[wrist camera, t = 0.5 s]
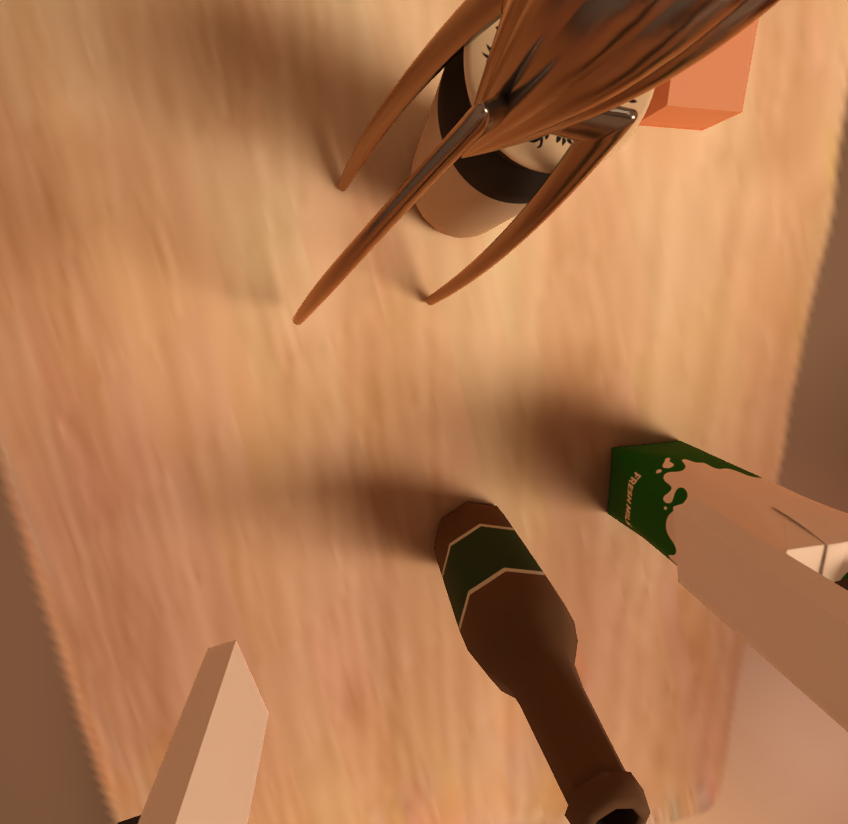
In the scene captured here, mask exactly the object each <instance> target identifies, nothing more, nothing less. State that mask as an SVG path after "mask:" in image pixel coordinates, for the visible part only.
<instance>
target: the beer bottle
mask: <svg viewBox="0 0 848 824" xmlns="http://www.w3.org/2000/svg"><path fill="white" fill-rule="evenodd" d="M434 549H435V554H436V558H437V562H438V565H439V568H440V571H441V574H442V577H443V580H444V584H445V587H446V590H447V593H448V596H449V599H450V602H451V605H452V609H453V612H454V615H455V618H456V621H457V624H458V627H459V630H460V633H461V635H462V638H463V640H464V642H465V645H466V647H467V649H468V651H469V652H470V654H471V655H472V656H473V657H474V659H475V660H476V661H477V662H478V664H479V665H480V666H481V667H482V669H483V670H484V671H485V672H486V674H487V675H488V676H489V677H490V679H491V680H492V681H493V682H494V683H495V684H496V685H497V686H498V688H499V689H500V690H501V691H503V692H504V693H506V694H508V695H510V696H512V697H514V698H516V700H517V701H518V703H519V704H520V706H521V708H522V710H523V712H524V714H525V716H526V719H527V721H528V723H529V725H530V727H531V729H532V731H533V733H534V735H535V737H536V739H537V741H538V743H539V745H540V748H541V750H542V752H543V754H544V756H545V758H546V760H547V762H548V764H549V766H550V768H551V770H552V772H553V774H554V776H555V779H556V781H557V783H558V785H559V787H560V789H561V791H562V793H563V795H564V797H565V799H566V801H567V803H568V807H567V810H566V813H565V816H566V818H567V819H568V821H569V822H570V824H646V821H647V819H648V817H649V815H650V810H649V807H648V803H647V800H646V797H645V794H644V791H643V789H642V787H641V786H640V785H639V783H638V782H637V780H636V779H635V778H634V776H633V775H632V773H631V772H627V771H625V769H624V767H623V765H622V763H621V762H620V760H619V758H618V756H617V754H616V752H615V750H614V748H613V746H612V744H611V742H610V740H609V738H608V736H607V734H606V732H605V730H604V728H603V726H602V724H601V722H600V720H599V718H598V716H597V714H596V712H595V710H594V708H593V706H592V704H591V702H590V701H589V699H588V697H587V695H586V693H585V691H584V689H583V686H582V684H581V681H580V678H579V676H578V673H577V670H576V667H575V665H574V664H575V657H576V650H577V642H578V640H577V635H576V629H575V624H574V621H573V619H572V617H571V615H570V613H569V612H568V610H567V608H566V606H565V604H564V603H563V601H562V600H561V598H560V597H559V595H558V594H557V592H556V591H555V589H554V588H553V586H552V585H551V583H550V582H549V580H548V578H547V577H546V575H545V574H544V573H543V571H542V570H541V568H540V567H539V565H538V564H537V562H536V561H535V559H534V558H533V556H532V555H531V554H530V552H529V551H528V549H527V548H526V546H525V545H524V543H523V542H522V540H521V539H520V537H519V536H518V535H517V533H516V532H515V530H514V529H513V527H512V526H511V524H510V523H509V521H508V520H507V519H506V517H505V516H504V514H503V513H502V512H501V511H500V509H499V508H498V507H497V506H491V505H483V504H476V503H469V502H466V503H465V504H463V505H462V506H460V507H459V508H457V509H456V510H454V511H453V512H451V513H450V514H448V515H447V516H445V517H444V518H442V519H441V522H440V526H439V530H438V534H437V538H436V542H435V546H434Z"/></svg>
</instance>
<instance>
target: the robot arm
mask: <svg viewBox="0 0 848 824" xmlns="http://www.w3.org/2000/svg"><path fill="white" fill-rule="evenodd" d="M673 511H674V525H675V540H676V554H677V569H678V582H679V583H680V584H681V585H683V586H684V587H685V588H686V589H687V590H688V591H689V592H690V593H692V594H693V595H694V596H695V597H696V598H697V599H698V600H700V601H701V602H702V603H703V604H704V605H705V606H706V607H707V608H709V609H710V610H711V611H712V612H713V613H714V614H715V615H716V616H718V617H719V618H720V619H721V620H722V621H723V622H724V623H725V624H727V625H728V626H729V627H730V628H731V629H732V630H733V631H734V632H736V633H737V634H738V635H739V636H740V637H741V638H742V639H744V640H745V641H746V642H747V643H748V644H749V645H750V646H752V647H753V648H754V649H755V650H756V651H757V652H758V653H759V654H760V655H762V656H763V657H764V658H765V659H766V660H767V661H768V662H769V663H771V664H772V665H773V666H774V667H775V668H776V669H777V670H779V671H780V672H781V673H782V674H783V675H784V676H785V677H786V678H787V679H789V680H790V681H791V682H792V683H793V684H794V685H796V686H797V687H798V688H799V689H800V690H801V691H802V692H803V693H805V694H806V695H807V696H808V697H809V698H810V699H811V700H812V701H814V702H815V703H816V704H817V705H818V706H819V707H820V708H821V709H822V710H824V711H825V712H826V713H827V714H828V715H829V716H830V717H831V718H833V719H834V720H835V721H836V722H837V723H838V724H839V725H841V726H842V727H843V728H844V729H845V730H846V731H847V732H848V579H846V578H845V579H842V580H839V581H836V582H832V581H831V580H829V579H827V578H826V577H824V576H823V575H821V574H819V573H818V572H816V571H814V570H813V569H811V568H809V567H808V566H806V565H804V564H803V563H801V562H799V561H798V560H796V559H794V558H793V557H791V556H789V555H788V554H786V553H784V552H783V551H781V550H779V549H778V548H776V547H774V546H773V545H771V544H769V543H768V542H766V541H764V540H763V539H761V538H759V537H758V536H756V535H754V534H753V533H751V532H749V531H748V530H746V529H744V528H743V527H741V526H739V525H738V524H736V523H735V522H733V521H731V520H730V519H728V518H726V517H725V516H723V515H721V514H720V513H718V512H716V511H715V510H713V509H711V508H710V507H708V506H706V505H705V504H703V503H701V502H700V501H698V500H693V501H690V502H687V503H683V504H680V505H677V506H674V507H673ZM268 716H269V713H268V711H267V708H266V706H265V704H264V702H263V699H262V697H261V695H260V693H259V690H258V688H257V686H256V684H255V681H254V679H253V677H252V675H251V673H250V670H249V668H248V666H247V664H246V661H245V659H244V657H243V655H242V652H241V650H240V648H239V646H238V643H237V641H236V640H235V641H231V642H228V643H225V644H222V645H218V646H215V647H212V648H208V650H207V652H206V655H205V657H204V660H203V662H202V665H201V667H200V670H199V672H198V675H197V677H196V680H195V682H194V685H193V687H192V690H191V692H190V695H189V697H188V700H187V702H186V705H185V707H184V710H183V712H182V715H181V717H180V720H179V722H178V725H177V727H176V730H175V732H174V735H173V737H172V740H171V742H170V745H169V747H168V750H167V752H166V755H165V757H164V760H163V762H162V765H161V767H160V769H159V772H158V774H157V777H156V779H155V782H154V784H153V787H152V789H151V792H150V794H149V797H148V799H147V802H146V804H145V807H144V809H143V812H142V814H141V815H140V816H137V817H134V818H131V819H128V820H125V821H122V822H119V823H118V824H248V819H249V814H250V808H251V803H252V798H253V793H254V788H255V783H256V777H257V772H258V767H259V762H260V757H261V752H262V747H263V741H264V736H265V731H266V726H267V721H268Z"/></svg>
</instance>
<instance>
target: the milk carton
mask: <svg viewBox="0 0 848 824" xmlns="http://www.w3.org/2000/svg"><path fill="white" fill-rule="evenodd" d="M693 500H698V501H700V502H701V503H703V504H705V505H706V506H708V507H710V508H711V509H713V510H715V511H716V512H718V513H720V514H721V515H723V516H725V517H726V518H728V519H730V520H731V521H733V522H735V523H736V524H738V525H739V526H741V527H743V528H744V529H746V530H748V531H749V532H751V533H753V534H754V535H756V536H758V537H759V538H761V539H763V540H764V541H766V542H768V543H769V544H771V545H773V546H774V547H776V548H778V549H779V550H781V551H783V552H784V553H786V554H788V555H789V556H791V557H793V558H794V559H796V560H798V561H799V562H801V563H803V564H804V565H806V566H808V567H809V568H811V569H813V570H814V571H816V572H818V573H819V574H821V575H823V576H824V577H826V578H827V579H829V580H831V581H832V582H836V581H839V580H842V579H845V578H846V579H848V514H847V513H844V512H841V511H839V510H836V509H834V508H831V507H828V506H825V505H823V504H820V503H818V502H815V501H813V500H810V499H808V498H806V497H803V496H801V495H799V494H797V493H795V492H792V491H790V490H788V489H786V488H784V487H781V486H779V485H777V484H775V483H772V482H770V481H768V480H766V479H764V478H761V477H759V476H757V475H755V474H753V473H750V472H748V471H746V470H744V469H741V468H739V467H737V466H735V465H733V464H730V463H728V462H726V461H724V460H722V459H719V458H717V457H715V456H713V455H710V454H708V453H706V452H704V451H702V450H700V449H697V448H695V447H693V446H691V445H688V444H686V443H684V442H682V441H673V442H663V443H653V444H643V445H634V446H624V447H614V448H613V449H612V462H611V475H610V488H609V501H608V514H609V515H611V516H612V517H614V518H615V519H617V520H618V521H619V522H621V523H622V524H624V525H625V526H627V527H628V528H630V529H631V530H633V531H634V532H636V533H637V534H639V535H640V536H642V537H643V538H644V539H646V540H647V541H648V542H649V543H650V544H652V545H653V546H654V547H655V548H656V549H658V550H659V551H660V552H661V553H662V554H664V555H665V556H666V557H667V558H668V559H670V560H671V561H672V562H673V563H674V564H676V565H677V554H676V540H675V525H674V511H673V507H674V506H677V505H680V504H683V503H687V502H690V501H693Z"/></svg>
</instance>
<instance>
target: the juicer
mask: <svg viewBox="0 0 848 824" xmlns="http://www.w3.org/2000/svg"><path fill="white" fill-rule="evenodd" d="M779 1H780V0H465V1H464V2H463V3H462V4H461V5H460V6H459V8H458V9H457V10H456V11H455V12H454V13H453V14H452V16H451V17H450V18H449V19H448V20H447V21H446V22H445V24H444V25H443V26H442V27H441V28H440V30H439V31H438V32H437V33H436V34H435V35H434V37H433V38H432V39H431V40H430V41H429V43H428V44H427V45H426V46H425V48H424V49H423V50H422V51H421V53H420V54H419V55H418V56H417V58H416V59H415V60H414V61H413V63H412V64H411V65H410V67H409V68H408V69H407V71H406V72H405V73H404V75H403V76H402V77H401V79H400V80H399V81H398V83H397V84H396V85H395V87H394V88H393V89H392V91H391V92H390V94H389V95H388V97H387V98H386V99H385V101H384V102H383V104H382V105H381V107H380V108H379V110H378V111H377V113H376V114H375V116H374V117H373V119H372V121H371V122H370V124H369V125H368V127H367V129H366V130H365V132H364V134H363V135H362V137H361V139H360V141H359V142H358V144H357V146H356V148H355V150H354V152H353V153H352V155H351V157H350V159H349V161H348V163H347V165H346V167H345V169H344V171H343V173H342V175H341V178H340V180H339V182H338V188H339V189H340V190H341V191H345V190H346V189H347V188H348V186H349V185H350V183H351V181H352V180H353V178H354V177H355V175H356V174H357V172H358V171H359V169H360V168H361V166H362V165H363V163H364V162H365V161H366V159H367V158H368V156H369V155H370V153H371V152H372V151H373V149H374V148H375V147H376V145H377V144H378V143H379V141H380V140H381V139H382V137H383V136H384V135H385V133H386V132H387V131H388V130H389V128H390V127H391V126H392V124H393V123H394V122H395V121H396V120H397V118H398V117H399V116H400V115H401V113H402V112H403V111H404V110H405V109H406V108H407V106H408V105H409V104H410V103H411V102H412V101H413V100H414V98H415V97H416V96H417V95H418V94H419V93H420V92H421V91H422V90H423V89H424V88H425V86H426V85H427V84H428V83H429V82H430V81H431V80H432V79H433V78H434V77H435V76H436V75H437V74H438V73H439V72H440V71H441V70H442V69H443V68H444V67H445V66H446V65H447V64H448V63H449V62H450V61H451V60H452V59H454V58H455V57H456V56H457V55H458V54H459V53H460V52H461V51H462V50H463V49H464V47H465V46H466V45H468V44H470V43H471V42H472V41H474V40H475V39H476V38H477V37H478V36H479V35H481V34H482V33H483V32H484V31H485V30H487V29H488V28H489V27H490V26H491V25H493V24H494V23H495V22H496V21H498V20H499V19H500V18H501V19H500V22H499V25H498V27H497V31H496V34H495V37H494V40H493V43H492V46H491V49H490V52H489V55H488V59H487V62H486V65H485V68H484V72H483V75H482V78H481V81H480V85H479V88H478V91H477V95H476V98H475V102H474V106H472V107H471V108H470V109H469V110H468V111H467V112H466V114H465V115H464V116H463V117H462V118H461V119H460V121H459V122H458V123H457V124H456V125H455V126H454V127H453V129H452V130H451V131H450V132H449V133H448V134H447V135H446V137H445V138H444V139H443V140H442V141H441V142H440V143H439V144H438V146H437V147H436V148H435V149H434V150H433V151H432V152H431V154H430V155H429V156H428V157H427V158H426V159H425V160H424V161H423V163H422V164H421V165H420V166H419V167H418V168H417V169H416V170H415V172H414V173H413V174H412V175H411V176H410V177H409V178H408V179H407V180H406V182H405V183H404V184H403V185H402V186H401V187H400V188H399V189H398V191H397V192H396V193H395V194H394V195H393V196H392V197H391V198H390V199H389V201H388V202H387V203H386V204H385V205H384V206H383V207H382V208H381V209H380V211H379V212H378V213H377V214H376V215H375V216H374V217H373V218H372V220H371V221H370V222H369V223H368V224H367V225H366V226H365V227H364V228H363V230H362V231H361V232H360V233H359V234H358V235H357V236H356V238H355V239H354V240H353V241H352V242H351V243H350V244H349V245H348V247H347V248H346V249H345V250H344V251H343V252H342V254H341V255H340V256H339V257H338V258H337V259H336V260H335V262H334V263H333V264H332V265H331V266H330V268H329V269H328V270H327V271H326V272H325V274H324V275H323V276H322V277H321V279H320V280H319V281H318V282H317V284H316V285H315V286H314V288H313V289H312V290H311V292H310V293H309V294H308V296H307V297H306V299H305V300H304V302H303V303H302V304H301V306H300V307H299V309H298V311H297V312H296V314H295V315H294V317H293V322H294V323H295V324H296V325H300V324H302V323H303V322H304V321H305V320H306V319H307V318H308V317H309V316H310V315H311V314H312V313H313V312H314V310H315V309H316V308H317V307H318V306H319V305H320V304H321V303H322V302H323V301H324V300H325V299H326V298H327V297H328V296H329V295H330V294H331V293H332V292H333V291H334V290H335V289H336V288H337V286H338V285H339V284H340V283H341V282H342V281H343V280H344V279H345V278H346V277H347V276H348V275H349V273H350V272H351V271H352V270H353V269H354V268H355V267H356V266H357V265H358V264H359V263H360V261H361V260H362V259H363V258H364V257H365V256H366V255H367V254H368V253H369V252H370V251H371V249H372V248H373V247H374V246H375V245H376V244H377V243H378V242H379V241H380V240H381V239H382V238H383V236H384V235H385V234H386V233H387V232H388V231H389V230H390V229H391V228H392V227H393V226H394V225H395V224H396V223H397V221H398V220H399V219H400V218H401V217H402V216H403V215H404V214H405V213H406V212H407V211H408V210H409V209H410V208H411V207H412V206H413V205H414V204H415V203H416V201H417V200H418V199H419V198H420V197H421V196H422V195H423V194H424V193H425V192H426V191H427V190H428V189H429V188H430V187H431V186H432V185H433V184H434V183H435V182H436V181H437V180H438V179H439V178H440V177H441V176H442V175H443V174H444V173H445V172H446V171H447V170H448V169H449V168H450V167H451V166H452V165H453V164H454V163H455V162H456V161H457V160H458V159H459V158H460V157H461V156H462V157H461V158H466V157H471V156H475V155H480V154H484V153H489V152H492V151H496V150H500V149H504V148H508V147H511V146H515V145H518V144H522V143H525V142H528V141H531V140H534V139H537V138H540V137H543V136H546V135H549V134H551V135H555V136H559V137H563V138H567V139H570V140H573V142H572V143H571V145H570V146H569V148H568V149H567V151H566V152H565V154H564V155H563V157H562V158H561V159H560V161H559V162H558V164H557V165H556V167H555V168H554V169H553V171H552V172H551V174H550V175H549V176H548V178H547V179H546V180H545V182H544V183H543V184H542V186H541V187H540V188H539V189H538V191H537V192H536V193H535V195H534V196H533V197H532V198H531V200H530V201H529V202H528V203H527V205H526V206H525V207H524V208H523V209H522V211H521V212H520V213H519V214H518V215H517V216H516V218H515V219H514V220H513V221H512V222H511V223H510V224H509V225H508V227H507V228H506V229H505V230H504V231H503V232H502V233H501V234H500V235H499V236H498V237H497V238H496V239H495V240H494V241H493V242H492V243H491V244H490V245H489V246H488V247H487V248H486V249H485V250H484V251H483V252H482V253H481V254H480V255H479V256H478V257H477V258H476V259H475V260H474V261H473V262H471V263H470V264H469V265H468V266H467V267H466V268H465V269H463V270H462V271H461V272H460V273H459V274H458V275H456V276H455V277H454V278H453V279H451V280H450V281H449V282H448V283H446V284H445V285H444V286H442V287H441V288H440V289H438V290H437V291H436V292H434V293H433V294H431V295H430V296H428V297H427V298H426V303H427V304H428V305H433V304H435V303H437V302H439V301H441V300H443V299H445V298H446V297H448V296H450V295H452V294H453V293H455V292H457V291H458V290H460V289H461V288H463V287H464V286H466V285H468V284H469V283H471V282H472V281H473V280H475V279H476V278H478V277H479V276H481V275H482V274H483V273H485V272H486V271H487V270H489V269H490V268H491V267H493V266H494V265H495V264H496V263H498V262H499V261H500V260H501V259H503V258H504V257H505V256H506V255H507V254H509V253H510V252H511V251H512V250H513V249H514V248H516V247H517V246H518V245H519V244H520V243H521V242H522V241H523V240H525V239H526V238H527V237H528V236H529V235H530V234H531V233H532V232H533V231H534V230H535V229H537V228H538V227H539V226H540V225H541V224H542V223H543V222H544V221H545V220H546V219H547V218H548V217H549V216H550V215H551V214H552V213H553V212H554V211H555V210H556V209H557V208H558V207H559V206H560V205H561V204H562V203H563V202H564V201H565V200H566V199H567V198H568V197H569V196H570V195H571V194H572V193H573V191H574V190H575V189H576V188H577V187H578V186H579V185H580V184H581V183H582V182H583V181H584V180H585V179H586V178H587V176H588V175H589V174H590V173H591V172H592V171H593V170H594V169H595V168H596V167H597V165H598V164H599V163H600V162H601V161H602V160H603V159H604V158H605V156H606V155H607V154H608V153H609V152H610V151H611V150H612V148H613V147H614V146H615V145H616V144H617V143H618V142H619V140H620V139H621V138H622V137H623V136H624V135H625V133H626V132H627V131H628V130H629V129H630V127H631V126H632V125H633V124H634V122H635V121H636V119H637V117H638V112H637V111H636V110H635V109H632V108H628V107H623V106H620V105H623V104H625V103H627V102H629V101H631V100H633V99H635V98H637V97H639V96H641V95H643V94H644V93H646V92H648V91H650V90H652V89H654V88H656V87H658V86H659V85H661V84H663V83H665V82H666V81H668V80H670V79H672V78H673V77H675V76H677V75H678V74H680V73H681V72H683V71H685V70H686V69H688V68H689V67H691V66H693V65H694V64H696V63H697V62H699V61H700V60H702V59H703V58H705V57H706V56H708V55H709V54H711V53H712V52H714V51H715V50H717V49H718V48H719V47H721V46H722V45H724V44H725V43H726V42H728V41H729V40H731V39H732V38H733V37H735V36H736V35H737V34H739V33H740V32H741V31H743V30H744V29H745V28H746V27H748V26H749V25H750V24H752V23H753V22H754V21H755V20H757V19H758V18H759V17H760V16H762V15H763V14H764V13H765V12H767V11H768V10H769V9H770V8H771V7H773V6H774V5H775V4H776V3H777V2H779Z"/></svg>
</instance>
